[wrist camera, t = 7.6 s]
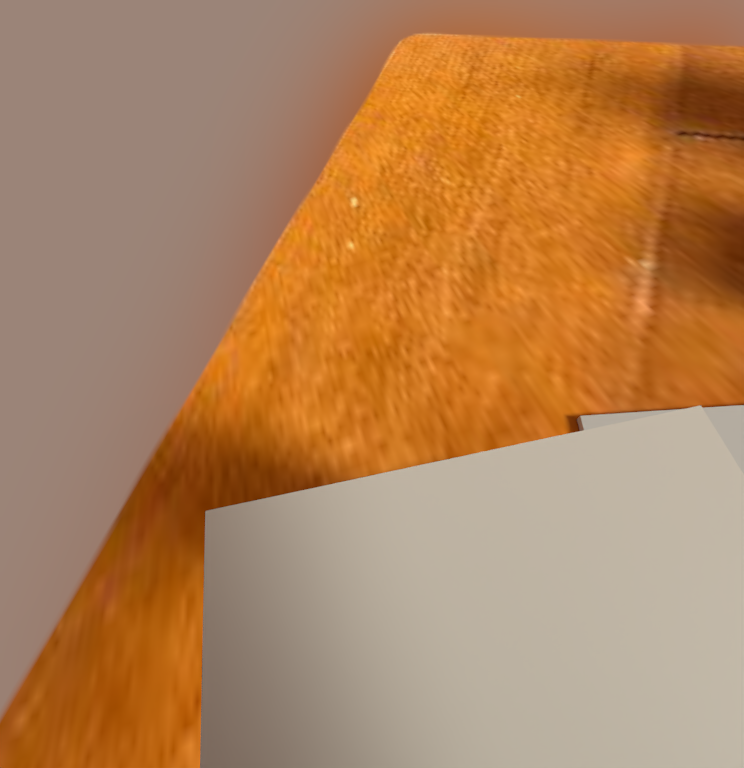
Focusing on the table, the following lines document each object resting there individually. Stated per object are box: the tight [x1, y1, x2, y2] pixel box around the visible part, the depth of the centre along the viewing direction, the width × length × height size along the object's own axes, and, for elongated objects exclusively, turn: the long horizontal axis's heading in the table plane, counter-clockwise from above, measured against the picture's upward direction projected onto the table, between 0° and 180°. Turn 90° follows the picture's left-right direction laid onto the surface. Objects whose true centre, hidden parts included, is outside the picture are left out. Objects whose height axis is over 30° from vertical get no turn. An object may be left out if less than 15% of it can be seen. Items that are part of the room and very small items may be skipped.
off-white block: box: [200, 405, 744, 768], centre depth 9 cm, size 5×5×13 cm
